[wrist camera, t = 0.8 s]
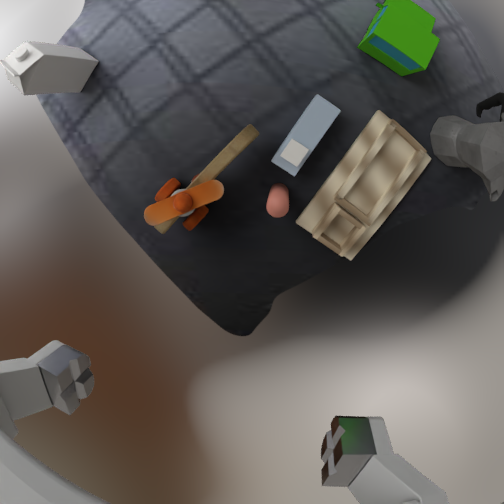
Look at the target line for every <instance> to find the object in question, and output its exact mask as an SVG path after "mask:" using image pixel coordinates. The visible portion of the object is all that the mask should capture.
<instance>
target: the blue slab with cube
mask: <svg viewBox="0 0 504 504" xmlns="http://www.w3.org/2000/svg"><path fill="white" fill-rule="evenodd" d="M340 111H341V110H340V109H338V108H337V107H335V106H334V105H333V104H331V103H330V102H328V101H327V100H325V99H324V98H322V97H321V96H319V95H318V94H317V95H316V96H315V97H314V98H313V100H312V101H311V102H310V104H309V105H308V107H307V108H306V110H305V111H304V112H303V114H302V115H301V117H300V118H299V120H298V121H297V122H296V124H295V125H294V127H293V128H292V130H291V131H290V133H289V134H288V136H287V137H286V139H285V140H284V142H283V143H282V144H281V146H280V147H279V149H278V150H277V152H276V153H275V155H274V156H273V158H272V161H271V162H273V163H275V164H276V165H278V166H279V167H281V168H282V169H284V170H285V171H287V172H288V173H290V174H291V175H293V176H294V177H295V175H296V174H297V172H298V171H299V169H300V168H301V167H302V165H303V164H304V162H305V161H306V159H307V158H308V157H309V155H310V154H311V152H312V151H313V149H314V148H315V147H316V145H317V144H318V142H319V141H320V140H321V138H322V137H323V135H324V134H325V132H326V131H327V130H328V128H329V127H330V125H331V124H332V123H333V121H334V120H335V118H336V117H337V116H338V114H339V113H340Z"/></svg>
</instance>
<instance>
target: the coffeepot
mask: <svg viewBox="0 0 504 504" xmlns="http://www.w3.org/2000/svg"><path fill="white" fill-rule="evenodd" d="M501 104H502V109H501V115H500V122H494V123H482V124H473V123H471V122H469V121H467V120H464V119H462V118H459V117H457V116H455V115H452V116H444V117H438V119H437V121H436V122H435V124H434V125H433V128H432V131H431V132H430V138H431V145H432V149H433V153H434V155H435V156H437V157H438V158H439V159H440V160H441V161H442V162H443V163H444V164H445V165H447V166H454V167H469V168H470V169H471V170H472V171H474V172H475V173H476V174H478V175H479V176H480V177H481V178H482V180H483V182H484V184H485V186H486V188H487V190H488V193H489V195H490V201H496V200H498V198H499V197H500V195H501V193H502V191H503V190H504V93H501V92H500V93H497V94H496V95H494V96H492V97H490V98H488V99H486V100H484V101H482V102H480V103H478V104H477V109H476V112H477V116H478V117H480V118H481V113H482V110H484V109H485V110H488V109H490V108H492V107H495V106H499V105H501Z"/></svg>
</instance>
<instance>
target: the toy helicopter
mask: <svg viewBox="0 0 504 504" xmlns="http://www.w3.org/2000/svg"><path fill="white" fill-rule="evenodd" d="M258 135H259V132H258V131H257V130H256V129H255V128H254V127H253V125H251V124H249V125H248V126H247V127H246V128H244V129H243V130H242V131H241V132H240V133H239V134H238V135H237V136H236V137H235V138H234V139H233V140H232V141H231V142H230V143H229V144H228V145H227V146H226V147H225V148H224V149H223V150H222V151H221V152H220V153H219V154H218V155H217V156H216V157H215V158H214V159H213V160H212V162H211V163H210V164H209V165H208V166H207V167H206V168H205V169H204V170H203V171H202V172H201V173H200V174H197V175H196V176H194V178H193V179H192V181H191V184H190V185H189V186H188V187H187V188H186V189H179V188H180V186H181V183H180V182H179V181H178V180H177V179H176V178H174V177H173V178H172V179H170V180H169V181H168V182H167V183H166V184H165V185H164V186H163V187H162V188H161V189H160V191H159V192H158V193H157V195H156V196H155V200H156V201H157V203H155V204H152V205H150V206H148V207H147V208H146V210H145V212H144V217H145V220H146V222H147V223H148V224H149V225H152V226H154V227H155V228H156V229H157V230H158V231H159V232H161V233H162V234H164V233H165V232H166V231H167V230H168V229H169V228H170V227H171V226H172V224H173V223H174V222H175V221H176V220H177V219H178V218H179V217H185V216H188V215H189V216H188V217H187V219H186V220H185V221H184V222H183V226H184V227H185V228H186V229H188V230H189V231H191V230H192V229H193V228H194V227H195V226H196V225H197V224H198V223H199V222H200V221H201V220H202V219H203V218H204V217H205V215H206V214H207V213H208V211H209V209H208V208H207V207H206V206H205V204H208V203H210V202H213V201H216V200H218V199H220V198H221V197H222V195H223V193H224V187H223V185H222V183H221V182H219V181H218V180H214V179H215V178H216V177H217V176H218V175H219V173H220V172H221V171H222V170H223V169H224V168H225V167H226V166H227V165H228V164H229V163H230V162H231V161H232V160H233V159H234V158H235V157H236V156H238V155H239V154H240V153H241V152H242V151H243V150H244V149H245V148H246V147H247V146H248V145H249V144H250V143H251V142H252V141H253V140H254V139H255V138H256V137H257V136H258Z"/></svg>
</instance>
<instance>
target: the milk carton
mask: <svg viewBox="0 0 504 504" xmlns="http://www.w3.org/2000/svg"><path fill="white" fill-rule="evenodd" d="M98 62H99V61H98V60H97V59H95V58H94V57H92V56H91V55H89V54H88V53H86V52H85V51H83V50H82V49H80V48H76V47H70V46H64V45H57V44H49V43H41V42H29V41H25V42H24V43H22V44H21V45H20V46H19V47H18V48H16V49H15V50H14V51H13V52H12V53H11V54H9V56H7V57H6V58H5V59H4V60H0V64H1V65H2V66H3V67H4V68H5V70H6V75H7V78H8V80H9V81H10V82H11V83H12V84H13V85H14V86H15V87H16V88H17V89H18V90H19V91H20V92H21V93H22V94H24V95H35V94H49V93H78V92H81V90H82V88H83V87H84V85H85V83H86V82H87V80H88V78H89V76H90V75H91V73H92V71H93V70H94V68H95V67H96V65H97V63H98Z"/></svg>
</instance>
